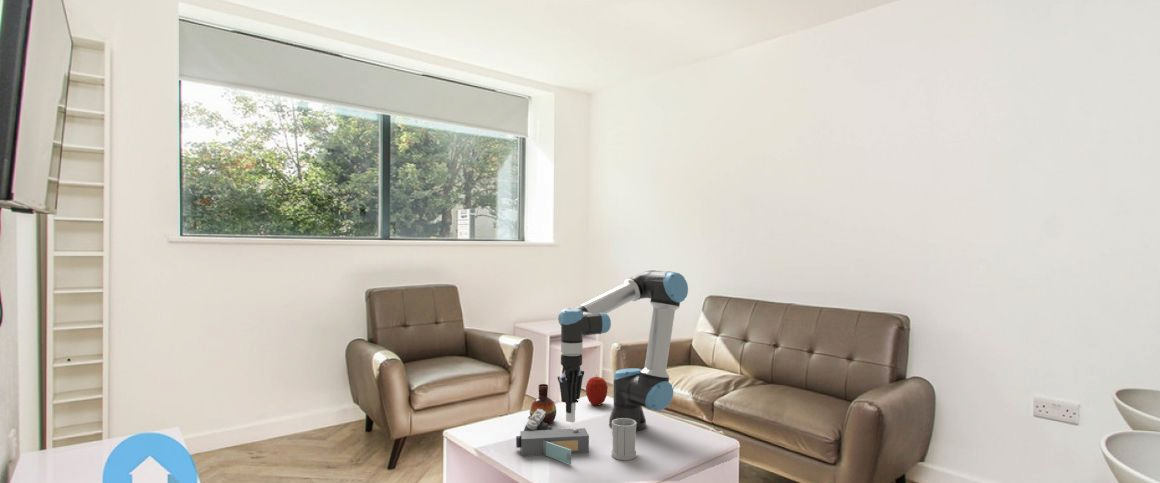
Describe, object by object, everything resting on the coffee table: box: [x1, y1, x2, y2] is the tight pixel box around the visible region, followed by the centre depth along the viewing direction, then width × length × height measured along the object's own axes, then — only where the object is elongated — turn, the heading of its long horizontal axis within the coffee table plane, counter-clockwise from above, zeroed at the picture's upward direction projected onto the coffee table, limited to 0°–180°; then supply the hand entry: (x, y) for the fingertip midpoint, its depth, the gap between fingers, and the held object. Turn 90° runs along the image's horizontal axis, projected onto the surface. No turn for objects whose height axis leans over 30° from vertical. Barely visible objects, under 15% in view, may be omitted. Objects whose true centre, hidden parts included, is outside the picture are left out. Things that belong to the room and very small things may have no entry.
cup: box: [610, 418, 637, 461], centre depth 197 cm, size 10×9×12 cm
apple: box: [585, 374, 609, 407], centre depth 257 cm, size 10×10×14 cm
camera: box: [523, 409, 552, 431], centre depth 212 cm, size 9×16×10 cm, turn 169°
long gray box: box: [515, 427, 590, 457], centre depth 201 cm, size 26×8×7 cm, turn 100°
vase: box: [529, 383, 557, 425], centre depth 231 cm, size 11×11×15 cm
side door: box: [542, 441, 572, 465], centre depth 192 cm, size 13×1×5 cm, turn 49°
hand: (570, 421), depth 194 cm, fingers closed
